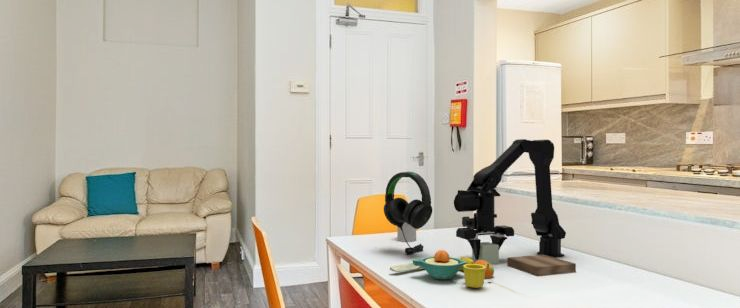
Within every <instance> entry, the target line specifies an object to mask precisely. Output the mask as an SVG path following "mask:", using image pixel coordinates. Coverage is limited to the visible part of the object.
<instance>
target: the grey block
mask: <svg viewBox="0 0 740 308" xmlns="http://www.w3.org/2000/svg"><path fill="white" fill-rule="evenodd" d="M396 227H397V228H396V229H397V238H396V239H397V241H398V242H400V243H406V241H407V242H408V243H414V242H416V241H417V229H415V228H413V227H412V226H411V225H409V224H407V223H406V222H405V223H404V224H403V226H402V229H403V232H402V230H401V229H400V228H398V226H396ZM403 233H404V236H405V239H406V241H405V239H404V236H403Z"/></svg>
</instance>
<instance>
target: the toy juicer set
mask: <svg viewBox="0 0 740 308" xmlns="http://www.w3.org/2000/svg"><path fill="white" fill-rule="evenodd" d="M389 270H390V271H391V272H393V273H394V272H395V273H401V272H406V271H412V270H419V271H420V270H425V271H426V273H428V274H429V275H430V276H431V277H432V278H433V279H436V280H450V279H452V278H453V277H454V276H455V275H457V274H458V272H459V271H461V272H463V274H464V275H463V276H464V281H465V282H464V283H465V285H466V287H469V288H477V289H478V288H482V287H483V286H484V281H485V279H491V278H492V277H493V276H494V274H495V269H494V266H493V265H491V264H490V263H488V262H486V261H484V260H478V261H476V262H474V261H473V260H472V258H469V257H465V256H461V257H459V258H456V257H451V256H450V254H449V253H448V252H447V251H446V250H444V249H441V250H438V251H436V252H435V253H434V256H428V257H427V256H426V257H423V258H413V259H412V262H409V263H404V264H398V265H391V266H390V267H389Z"/></svg>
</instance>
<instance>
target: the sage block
mask: <svg viewBox="0 0 740 308" xmlns="http://www.w3.org/2000/svg"><path fill="white" fill-rule="evenodd" d="M499 253H500V249H499V245H497V244H493V243H492V242H490V241H483V242H482V241H481V242H480V253H479V259H478V260H484V261H486V262H488V263H490V264H491V265H492V266H493V265H498V264H499V261H500V259H499V257H500V254H499ZM471 259H472V260H473V261H474V263H475V262H476V261H478V260H476V259H475V256H474V253H473V250H472V249H471Z"/></svg>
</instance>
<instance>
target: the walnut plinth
mask: <svg viewBox="0 0 740 308" xmlns="http://www.w3.org/2000/svg"><path fill="white" fill-rule="evenodd" d="M506 262H507V263H506V265H507V266H508V267H510V268H513V269H516V270H518V271H522V272H524V273H528V274H530V275H533V276H535V277H541V276H542V277H543V276H550V275H553V276H554V275H559V274H561V275H562V274H568V273H569V274H571V273H576V270H577V268H576V267H577V264H576V263H574V262H571V261H568V260H564V259H562V258H561V259H560V258H558V257H557V258H556V257H550V256H547V255H541V254H534V255H532V254H531V255H523V256H512V257H507V258H506Z"/></svg>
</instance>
